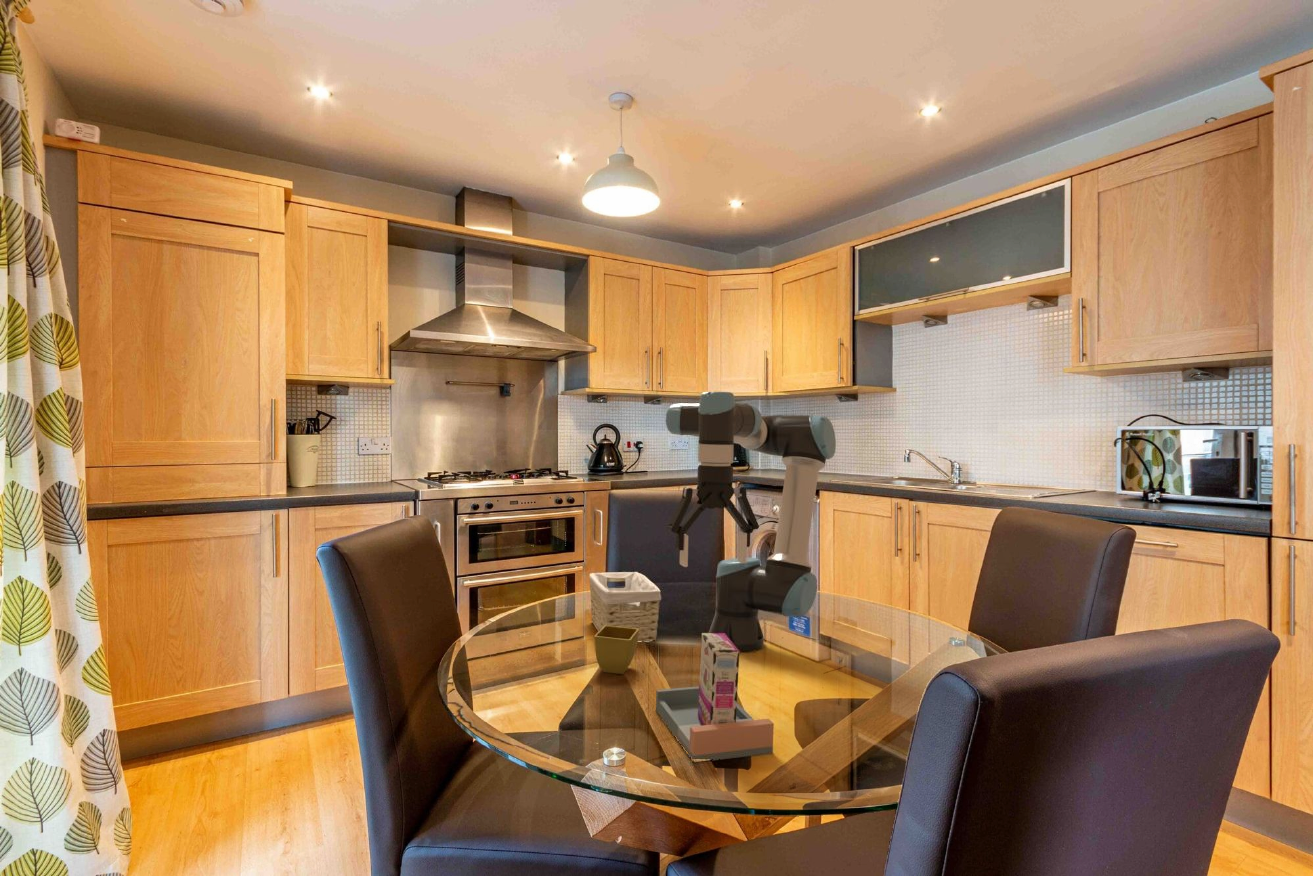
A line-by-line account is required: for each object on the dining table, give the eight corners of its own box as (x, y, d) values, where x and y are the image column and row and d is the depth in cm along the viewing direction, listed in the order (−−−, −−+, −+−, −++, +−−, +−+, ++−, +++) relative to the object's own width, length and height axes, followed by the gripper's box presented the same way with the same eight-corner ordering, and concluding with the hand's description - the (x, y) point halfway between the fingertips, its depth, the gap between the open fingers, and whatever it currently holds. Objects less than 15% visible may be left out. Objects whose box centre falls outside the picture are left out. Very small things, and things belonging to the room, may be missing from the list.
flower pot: (628, 679, 142) (630, 639, 142) (592, 674, 144) (593, 635, 144) (637, 666, 151) (639, 628, 151) (602, 662, 153) (604, 625, 153)
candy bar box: (737, 743, 111) (740, 650, 111) (709, 744, 110) (713, 650, 110) (722, 716, 122) (725, 631, 122) (696, 716, 121) (700, 631, 121)
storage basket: (661, 644, 168) (663, 589, 169) (602, 647, 164) (604, 591, 164) (638, 619, 191) (640, 571, 191) (585, 621, 187) (587, 572, 187)
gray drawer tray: (724, 704, 130) (725, 679, 130) (772, 753, 110) (773, 723, 110) (655, 710, 126) (656, 684, 126) (693, 762, 106) (694, 732, 106)
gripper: (759, 463, 141) (756, 557, 141) (654, 463, 132) (652, 563, 133) (776, 465, 134) (773, 564, 134) (666, 465, 125) (664, 571, 126)
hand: (713, 564), depth 133 cm, fingers open, 13 cm apart
